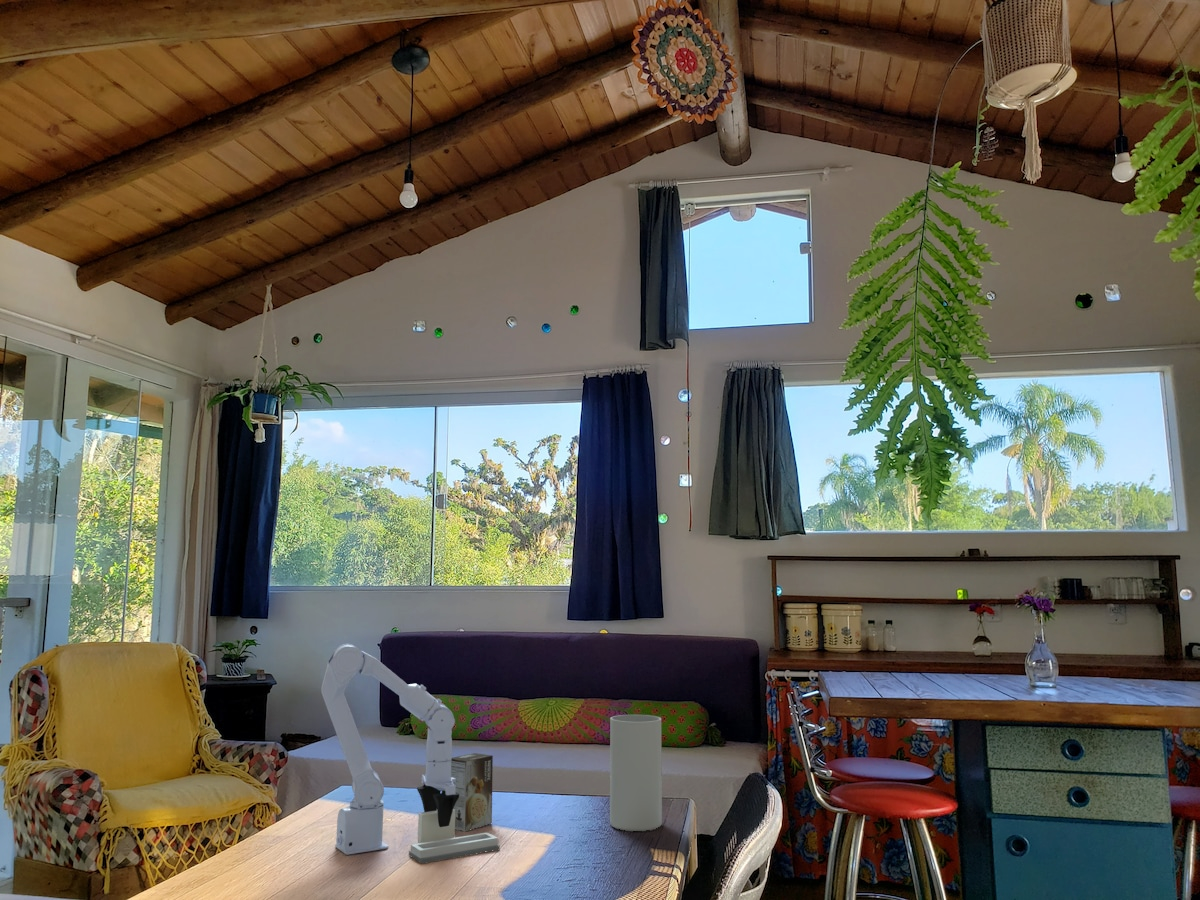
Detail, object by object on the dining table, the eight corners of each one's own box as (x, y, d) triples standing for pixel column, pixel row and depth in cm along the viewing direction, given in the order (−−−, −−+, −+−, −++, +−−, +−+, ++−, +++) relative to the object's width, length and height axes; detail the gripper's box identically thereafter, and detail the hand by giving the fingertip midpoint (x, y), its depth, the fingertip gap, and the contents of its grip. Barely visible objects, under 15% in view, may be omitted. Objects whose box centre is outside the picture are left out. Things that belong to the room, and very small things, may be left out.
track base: (421, 863, 184) (422, 851, 185) (409, 855, 190) (409, 843, 190) (499, 849, 194) (499, 838, 195) (485, 842, 200) (485, 831, 200)
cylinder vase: (663, 832, 208) (662, 722, 212) (609, 832, 209) (610, 721, 213) (660, 819, 221) (660, 714, 225) (610, 818, 221) (610, 714, 225)
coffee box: (473, 820, 219) (475, 752, 222) (492, 824, 215) (494, 755, 218) (446, 827, 212) (448, 757, 214) (465, 832, 208) (467, 760, 210)
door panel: (421, 845, 197) (422, 814, 198) (417, 843, 199) (418, 813, 200) (454, 840, 202) (455, 810, 203) (450, 838, 203) (451, 808, 204)
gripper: (468, 763, 199) (467, 826, 197) (442, 753, 211) (440, 813, 209) (439, 766, 195) (437, 831, 193) (413, 756, 207) (412, 817, 205)
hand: (437, 822), depth 201 cm, fingers open, 7 cm apart
